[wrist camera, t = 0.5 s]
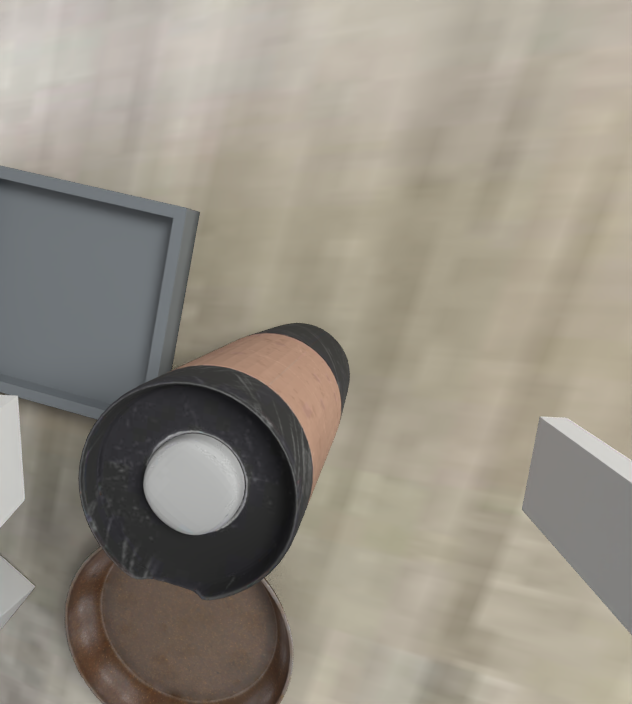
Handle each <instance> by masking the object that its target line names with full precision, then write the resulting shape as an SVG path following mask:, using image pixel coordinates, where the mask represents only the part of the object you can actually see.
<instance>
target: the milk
mask: <svg viewBox="0 0 632 704" xmlns="http://www.w3.org/2000/svg"><path fill="white" fill-rule="evenodd" d="M34 588H35V585H33V584H32V583H31V582H30V581H29V580H28V579H27V578H26V577H24V576H23V575H22V574H21V573H20V572H19V571H18V570H16V569H15V568H14V567H13V566H12V565H11V564H10V563H9V562H7V561H6V560H5V559H4V558H3V557H2V556H1V555H0V630H1V629H2V627H3V626H4V625H5V624H6V623H7V621H8V620H9V619H10V618H11V616H12V615H13V614H14V613H15V611H16V610H17V609H18V608H19V606H20V605H21V604H22V603H23V602H24V600H25V599H26V598H27V597H28V595H29V594H30V593H31V592H32V590H33V589H34Z"/></svg>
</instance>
